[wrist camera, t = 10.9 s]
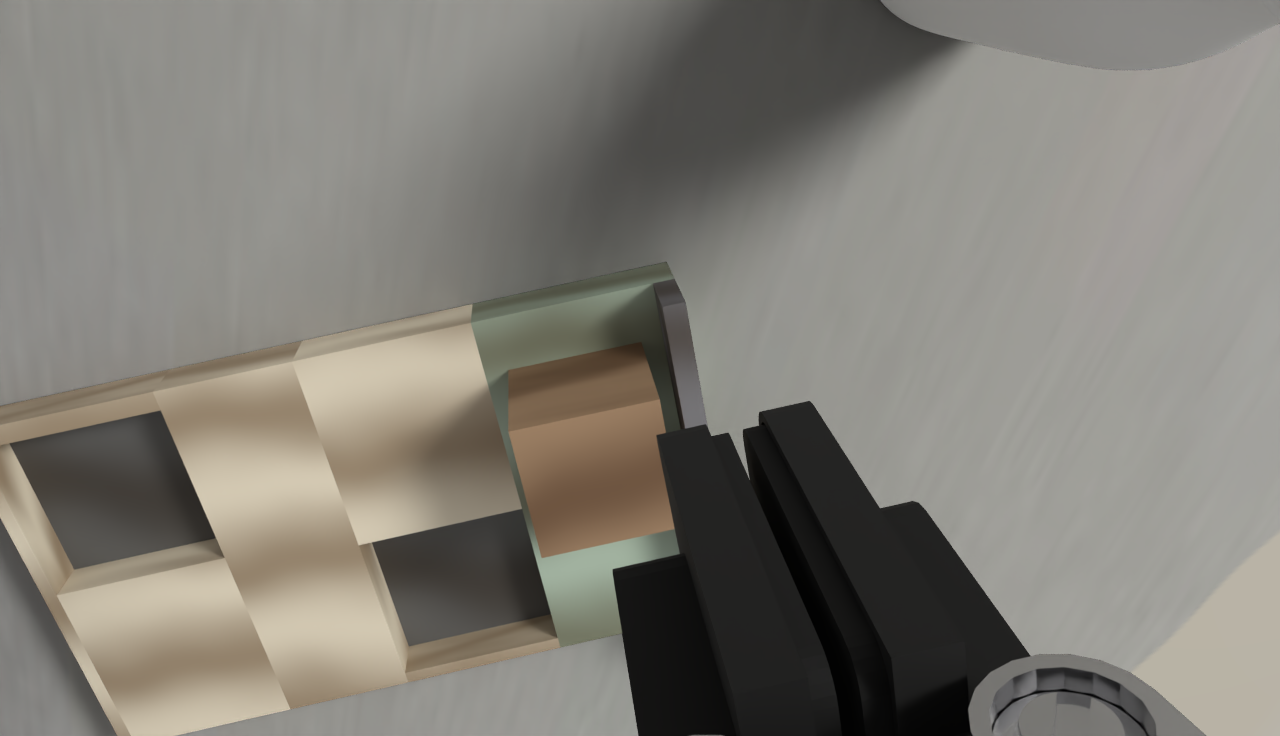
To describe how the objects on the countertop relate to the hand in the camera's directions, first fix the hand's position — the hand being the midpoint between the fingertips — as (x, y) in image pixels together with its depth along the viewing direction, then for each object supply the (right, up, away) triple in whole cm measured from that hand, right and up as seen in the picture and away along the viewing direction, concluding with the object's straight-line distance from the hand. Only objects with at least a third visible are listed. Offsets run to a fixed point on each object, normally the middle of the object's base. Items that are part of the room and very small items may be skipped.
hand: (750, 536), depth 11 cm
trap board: (-12, -4, +30) cm, 32 cm away
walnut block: (-3, 0, +27) cm, 27 cm away
